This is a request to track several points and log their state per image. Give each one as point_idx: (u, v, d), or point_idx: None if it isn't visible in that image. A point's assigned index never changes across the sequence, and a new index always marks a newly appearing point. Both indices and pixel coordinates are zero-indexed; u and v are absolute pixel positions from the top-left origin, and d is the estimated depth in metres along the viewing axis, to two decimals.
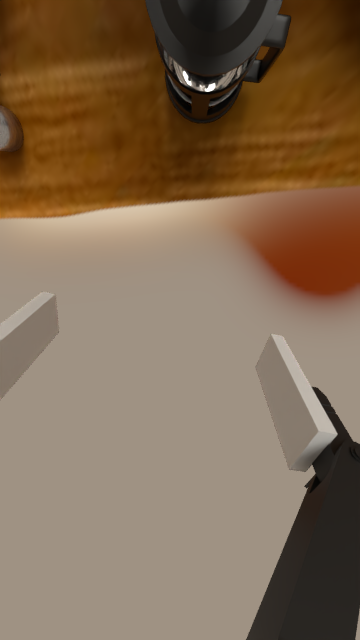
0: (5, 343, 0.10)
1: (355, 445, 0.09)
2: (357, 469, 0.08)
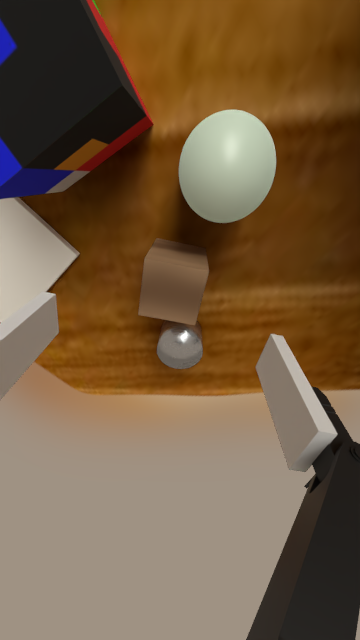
0: (5, 343, 0.10)
1: (355, 445, 0.09)
2: (357, 469, 0.08)
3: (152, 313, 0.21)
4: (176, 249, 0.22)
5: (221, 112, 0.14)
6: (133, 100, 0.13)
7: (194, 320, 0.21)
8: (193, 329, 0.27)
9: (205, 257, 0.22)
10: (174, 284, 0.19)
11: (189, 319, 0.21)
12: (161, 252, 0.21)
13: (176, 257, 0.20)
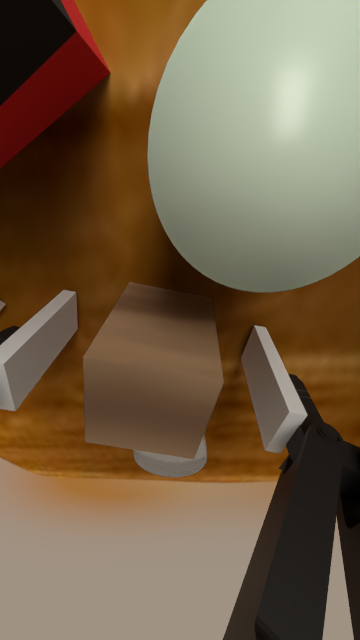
0: (35, 338, 0.11)
1: (322, 424, 0.09)
2: (324, 447, 0.09)
3: (112, 441, 0.11)
4: (160, 310, 0.12)
5: None
6: None
7: (192, 453, 0.11)
8: None
9: (213, 327, 0.12)
10: (152, 401, 0.09)
11: (182, 451, 0.11)
12: (129, 324, 0.11)
13: (156, 340, 0.10)
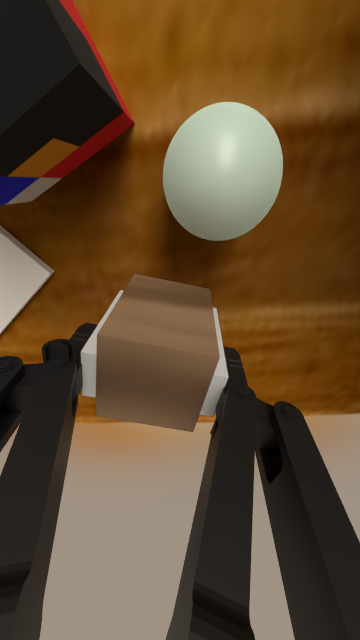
0: None
1: (237, 385, 0.10)
2: (241, 405, 0.10)
3: (119, 414, 0.12)
4: (163, 298, 0.13)
5: (214, 105, 0.11)
6: (102, 89, 0.10)
7: (192, 425, 0.12)
8: None
9: (211, 314, 0.13)
10: (156, 376, 0.11)
11: (183, 423, 0.12)
12: (136, 309, 0.12)
13: (160, 322, 0.11)
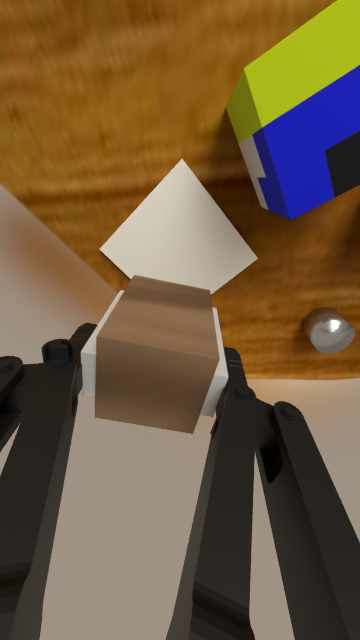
0: None
1: (237, 385, 0.10)
2: (241, 405, 0.10)
3: (119, 416, 0.12)
4: (163, 300, 0.13)
5: None
6: None
7: (191, 427, 0.12)
8: (345, 320, 0.32)
9: (211, 315, 0.13)
10: (156, 377, 0.11)
11: (182, 425, 0.12)
12: (135, 310, 0.12)
13: (160, 324, 0.11)
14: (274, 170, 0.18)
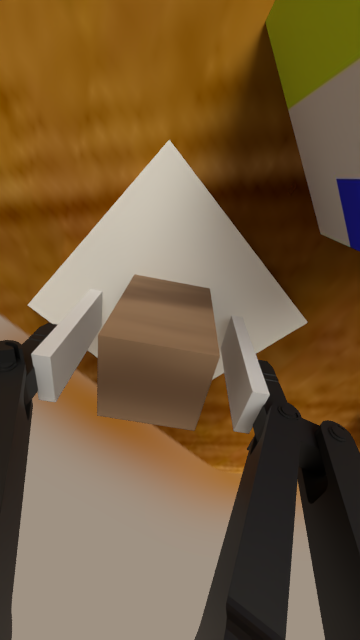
0: (72, 334, 0.12)
1: (282, 403, 0.10)
2: (284, 424, 0.09)
3: (121, 414, 0.12)
4: (163, 298, 0.13)
5: None
6: None
7: (193, 424, 0.12)
8: None
9: (211, 313, 0.13)
10: (157, 375, 0.11)
11: (184, 422, 0.12)
12: (136, 309, 0.12)
13: (161, 322, 0.11)
14: None
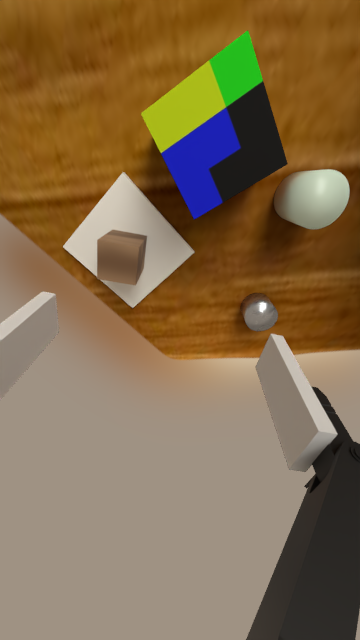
0: (5, 343, 0.10)
1: (355, 445, 0.09)
2: (357, 469, 0.08)
3: (106, 277, 0.31)
4: (123, 236, 0.33)
5: (323, 170, 0.26)
6: None
7: (134, 281, 0.31)
8: (270, 302, 0.38)
9: (142, 240, 0.32)
10: (118, 257, 0.30)
11: (131, 281, 0.31)
12: (111, 237, 0.31)
13: (120, 240, 0.31)
14: (176, 183, 0.24)
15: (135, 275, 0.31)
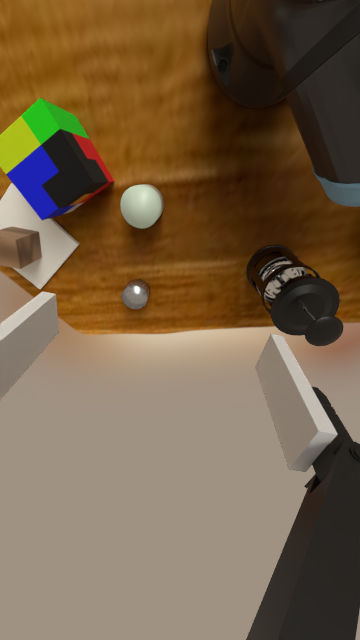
0: (5, 343, 0.10)
1: (355, 445, 0.09)
2: (357, 469, 0.08)
3: None
4: (14, 231, 0.43)
5: (134, 186, 0.35)
6: (100, 182, 0.35)
7: (19, 266, 0.42)
8: (142, 286, 0.48)
9: (27, 235, 0.43)
10: (2, 247, 0.40)
11: (16, 265, 0.42)
12: (1, 232, 0.42)
13: (6, 234, 0.41)
14: (23, 194, 0.34)
15: (18, 261, 0.41)
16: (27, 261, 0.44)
